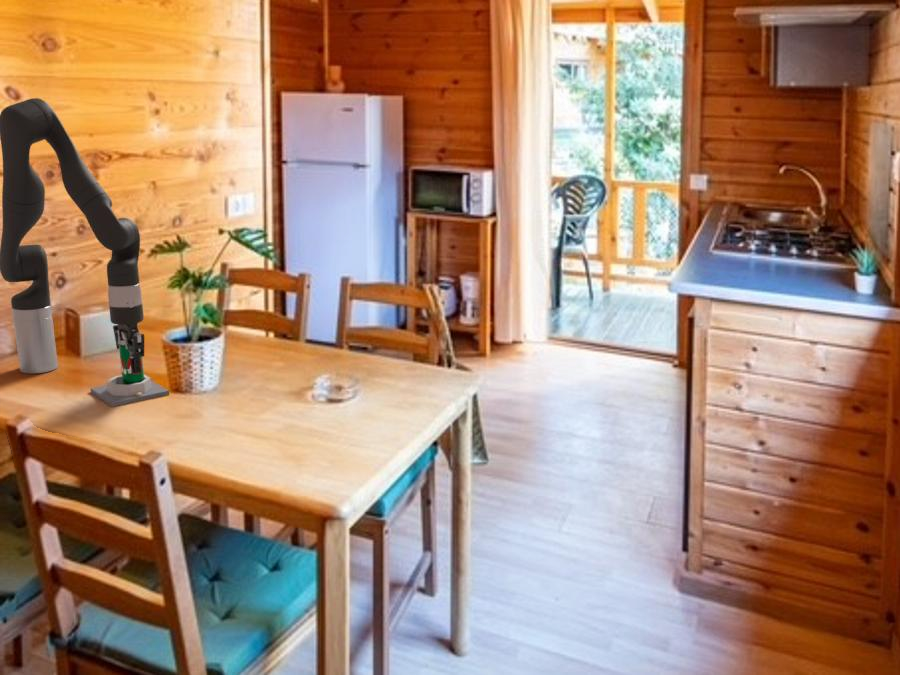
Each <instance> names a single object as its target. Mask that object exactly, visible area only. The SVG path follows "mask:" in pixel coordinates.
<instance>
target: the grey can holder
mask: <svg viewBox="0 0 900 675" xmlns="http://www.w3.org/2000/svg"><path fill="white" fill-rule="evenodd" d="M90 393H92V394H93V395H95V396H96V397H97V398H99V399H100V400H102V401H103V402H104V403H106V404H107V405H108V406H110V407H111V408H113V407H117V406H122V405H128V404H132V403H137V402H141V401H146V400H149V399H155V398H159V397H164V396H168V395H170V392H169V390H168V389H166V388H165V387H163V386H161V385H160V384H158V383H156V382H155V381H153V380H151V377H150V376H148V375H147V374H145V373H144V380H143V381H142V382H139V383H134V384H129V385H123V382H122V374H120V375H116V376H113V377H111V378H109V379H108V380H107V381H106V384H105V385H101V386H100V385H99V386H95V387H90Z"/></svg>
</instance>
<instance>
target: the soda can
mask: <svg viewBox="0 0 900 675" xmlns="http://www.w3.org/2000/svg"><path fill="white" fill-rule="evenodd" d="M129 345H130V346H132V344H129ZM118 352H119V360H120V369H121V370H120V372H121V375H122V382H123V385H129V384H134V383H139V382H142V381H143V380H144V374H145V372H144V363H143V357H140V361H141V372H140V373H135V374H134V373H132V372H131V363H130V359H131V358H130V355H129V351H128V350H127V349H126V347H125V342H124V340H123V339H122V340H120V343H119V349H118ZM136 352H137V350H136Z"/></svg>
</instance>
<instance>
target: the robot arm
mask: <svg viewBox="0 0 900 675" xmlns="http://www.w3.org/2000/svg"><path fill="white" fill-rule="evenodd" d="M44 140H45V141H46V142H47V143H48V144H49V145H50V147H51V148H52V150H53V151H54V153H55V155H56V156H57V159H58V163H59V168H60V173H61V180H62V184H63V187H64V188H65V191H66V193H67V194H68V196H69V197H70V199H71V200H72V201H73V202H74V204H75V205H76V207H77V208H78V209H79V210H80V211H81V212H82V214H83V215H84V216H85V218H86V221H87V222H88V223H87V224H89V226H90V229H91V231H92V233H93V234H94V236H95V238H96V239H97V240H98V242H99V244H101V245H102V246H103V247H104V248H106V249H108V250H109V251H111V258H110V260H109V261H108V262H107V265H106V275H107V285H108V287H107V290H108V291H107V298H108V306H109V307H108V308H109V318H110V322H111V324H114V325H113V326H112V330H113V334H114V341H115V345H116V346H115V347H116V350H119V343H120V340H122V339H123V340H124V342H125V347H126V349H127V350H128V351H129V355H130V358H131V359H130V363H131V372H132V373H134V374H135V373H140V372H141V361H140V357H142V358H143V357H145V334H144V333H140V329H139V327H138V324H139V323H142V322H143V320H144V319H145V318H144V308H143V306H144V305H143V297H142V290H141V289H142V288H141V284H140V275H139V274H140V273H139V259H140V247H141V235H140V234H141V233H140V230H139V227H138V225H137V224H136V223H135V222H134V221H133V220H132V219H131V218H127V217H120V218H117V216H116V214H115V213H114V211H113V210H112V206H113V201H112V199H111V198H110V196H109V195H108V193H107V192H106V190H105V189H103V187H102V186H101V184H100V183H99V182H98V180H97V179H96V178H95V177H94V175H93V174H92V173H91V172H90V170H89V168H88V167H87V165H86V164H85V162H84V161H83V160H84V159H82V156H81V155H80V153H79V151H78V150H77V148H76V146H75V145H74V142H73V140H72V139H71V137H70V135H69V134H68V131H67V130H66V129H65V126H64V124H63V123H62V121H61V119H60V118H59V117H58V114H57V113H56V112H55V110H54V109H53V108H52V107H51V105H49V103H47V101H45V100H43V99H42V98H38V97H34V98H28V99H26V100H23V101H19V102H16V103H14V104H10V105H8V106H6V107H4V108H3V109H2V110H1V112H0V147H1V153H2V154H1V155H2V191H1V193H2V194H1V195H2V196H1V198H2V199H1V207H2V213H1V214H2V232H1V240H0V275H1V277H2V278H3V280H4V281H5V282H8V283H23V282H31V281H32V283H31V284H30V286H28V287H27V288H25V289H24V290H23V291H20V292H18V293H16V294H14V295H13V296H12V297H11V299H10V305H11V311H12V318H13V326H14V334H15V341H16V348H17V349H16V350H17V355H18V356H17V358H18V366H19V372H20V373H23V374H32V375H33V374H43V373H47V372H51V371H54V370H57V369H58V367H59V366H58V365H59V364H58V356H57V348H56V346H57V345H56V339H55V338H56V337H55V330H54V322H53V313H52V305H51V304H52V303H51V293H50V285H49V284H50V280H49V265H48V264H49V263H48V256H47V253H46V250H45V249H44V247H43V246H42V245H40V244H27V245H26V244H25V245H24V244H23V245H20V244H21V243H22V240H23V239H24V238H25V236H26V235H27V234H28V233H29V232H30V231H31V229H33V227H34V226H35V225H36V224H37V223H38V222H39V220H40V219H41V217H42V215H43V214H44V210H45V196H46V190H45V184H44V182H43V181H42V178H41V177H40V176H39V174H38V173H37V172H36V171H35V170H34V169H33V168H32V166H31V162H30V150H31V147H32V145H33V144H36V143H38V142H41V141H44ZM129 344H132V346H130V345H129ZM136 350H137V352H136Z"/></svg>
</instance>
